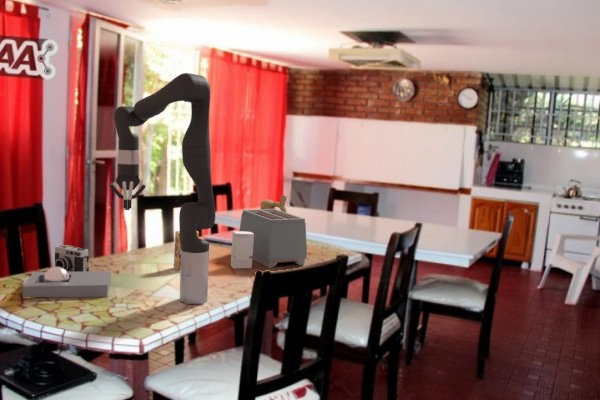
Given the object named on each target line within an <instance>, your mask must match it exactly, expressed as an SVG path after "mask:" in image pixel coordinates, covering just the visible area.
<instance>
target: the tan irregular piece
mask: <svg viewBox="0 0 600 400" xmlns="http://www.w3.org/2000/svg"><path fill="white" fill-rule="evenodd" d="M287 198H288V197H287V196H285V195H281V196H280V201H273V200H272V199H263V200H262V201H261V202H260V209H276V207H277V208H278V209H280V210H279V211H282V212H285V213H287V208H286V202H287ZM276 210H277V209H276Z"/></svg>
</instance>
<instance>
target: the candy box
mask: <svg viewBox="0 0 600 400" xmlns="http://www.w3.org/2000/svg"><path fill="white" fill-rule="evenodd" d="M196 232H197V237H198V238H199V239H200V232H199V230H196ZM174 235H175V236H174V255H173V268H174V269H175V270H176V271H178V270H180V267H181V243H180V230H176V231H175V234H174Z"/></svg>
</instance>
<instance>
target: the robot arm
mask: <svg viewBox="0 0 600 400" xmlns="http://www.w3.org/2000/svg"><path fill="white" fill-rule="evenodd" d="M210 85H211V84H210V83H209V80H208V78H206V77H205V76H203V75H201V74H200V75H199V74H194V73H188V72H184V73H181V74H179V75H177V76H175V77H174V78H173V79H172V80H171V81H169V82H168V83H167V84H165V85H164V86H163V87H161V88H160V89H159V90H157V91H156V92H154V93H151V94H150V95H148V96H146V97H144V98H141V99H140V100H138V101H136V102H135V104H134V106H123V105H122V106H118V107H117V108H116V109H115V111H114V114H113V120H114V121H113V122H114V126H115V129H116V133H117V138H118V145H117V147H118V149H117V156H116V157H117V165H116V167H117V169H116V170H117V172H116V173H117V175H116V176H117V177H116V178H115V181H113V182H112V183H110V184H109V187H110V189H111V190H112V191H113V192H114V194H115V195H116V196H117V197H118V198H119V199H122V200H123V202H122V203H123V205H122V207H123V209H124V210H125V211H130V209H132V202H133V201H132V200H134V199H137V198H138V197H139V196H140V195H141V193H142V192H143V191H144V190H145V189H146V184H144V183H142V182H141V179H140V177H139V176H140V153H139V151H140V150H139V149H140V147H139V146H140V143H139V142H140V139H139V138H140V137H139V135H138V134H136V133H133V132H132V131H131V129H130V127H139V126H142V125H144V124H145V123H147V121H148V120H150V119H151V118H154V117H156V116H159V115H160V114H161V113H163V112H164V111H165V110H166V109H167V107H168V106H169V105H170V104H173V103H178V102H186V103H190V105H191V107H190V108H191V118H190V122H189V125H188V126H187V129H186V130H185V133H184V136H183V138H182V141H181V155H182V156H181V157H182V159H181V160H182V164H183V167H184V169H185V170H186V172H187V174H188V175H189V177H190V179H191V180H192V181H193V184H194V185H195V188H196V191H197V198H198V200H197V201H193V202H185V203H183V204H182V205H181V207H180V209H179V216H178V219H179V221H178V222H179V225H178V226H179V231H180V243H181V267H180V271H179V278H180V279H179V301H180V302H181V303H184V305H198V304H199V305H200V304H201V305H202V304H203V305H204V303H206V302H207V301H208V289H209V288H208V287H209V262H210V261H209V260H210V259H209V258H210V242H209V241H208V240H205V239H203V238H200V237H199V238H198V237H197V232H196V231H201V230H209V229H211V228H213V227H214V225H215V223H216V206H215V205H216V204H215V198H214V193H213V190H214V189H213V182H212V167H211V166H212V163H211V162H212V159H211V158H212V156H211V141H210V140H211V139H210V108H211V107H210V105H211V86H210ZM118 187H119V188H120V189H121V190H122V193H121V192H120V191H119V189H118ZM137 187H138V189H137V191H135V192H134V190H135V189H136V188H137ZM127 191H128V192H127ZM133 192H134V194H133Z"/></svg>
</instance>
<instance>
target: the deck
mask: <svg viewBox="0 0 600 400" xmlns="http://www.w3.org/2000/svg"><path fill="white" fill-rule="evenodd" d="M46 272H47V271H33V272H32V273H31V274H30V275H29V278H28V279H27V280H26V282H25V283H24V284H23V285H22V299H25V298H24V297H71V298H106V297H108V296H109V290H110V286H111V282H112V280H111V278H112V271H111V270H110V271H108V270H106V271H105V270H104V271H103V270H102V271H96V270H95V271H89V270H88V271H87V272H68V274H69V282H49V283H44V276H45V273H46Z"/></svg>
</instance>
